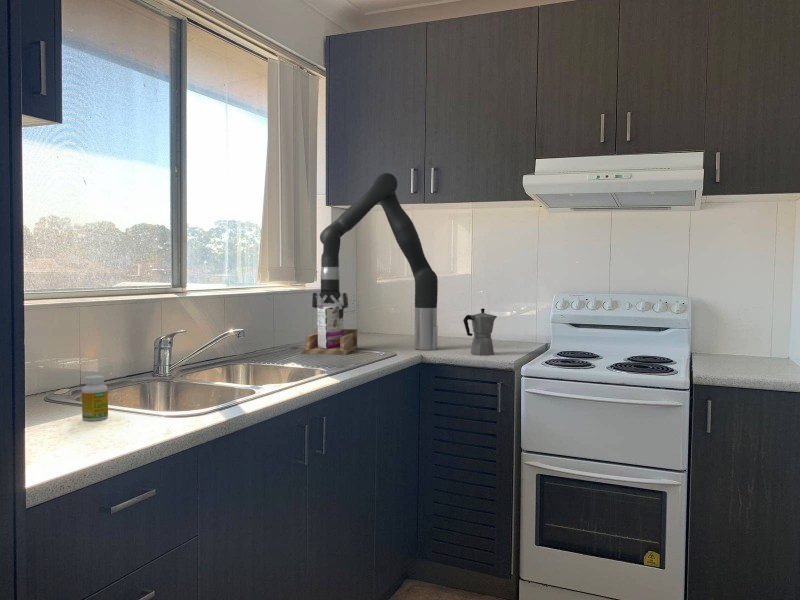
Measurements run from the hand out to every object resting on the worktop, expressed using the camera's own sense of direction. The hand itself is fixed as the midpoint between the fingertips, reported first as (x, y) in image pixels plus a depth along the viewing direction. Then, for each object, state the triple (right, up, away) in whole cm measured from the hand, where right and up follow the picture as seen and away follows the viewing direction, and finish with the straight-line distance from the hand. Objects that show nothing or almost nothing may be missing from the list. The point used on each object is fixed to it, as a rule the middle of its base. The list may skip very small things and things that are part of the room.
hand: (330, 318), depth 270 cm
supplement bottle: (-41, -20, -117) cm, 125 cm away
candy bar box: (0, -12, +1) cm, 12 cm away
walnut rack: (0, -13, +1) cm, 13 cm away
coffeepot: (+60, -14, -6) cm, 62 cm away
